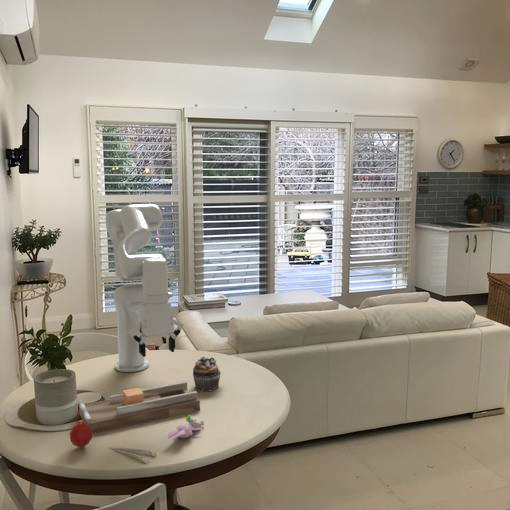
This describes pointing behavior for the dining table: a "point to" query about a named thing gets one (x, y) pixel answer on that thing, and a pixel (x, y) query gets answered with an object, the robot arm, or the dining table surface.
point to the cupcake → (206, 374)
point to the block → (132, 396)
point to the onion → (81, 434)
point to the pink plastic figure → (185, 429)
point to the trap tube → (139, 407)
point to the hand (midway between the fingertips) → (157, 352)
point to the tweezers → (135, 452)
